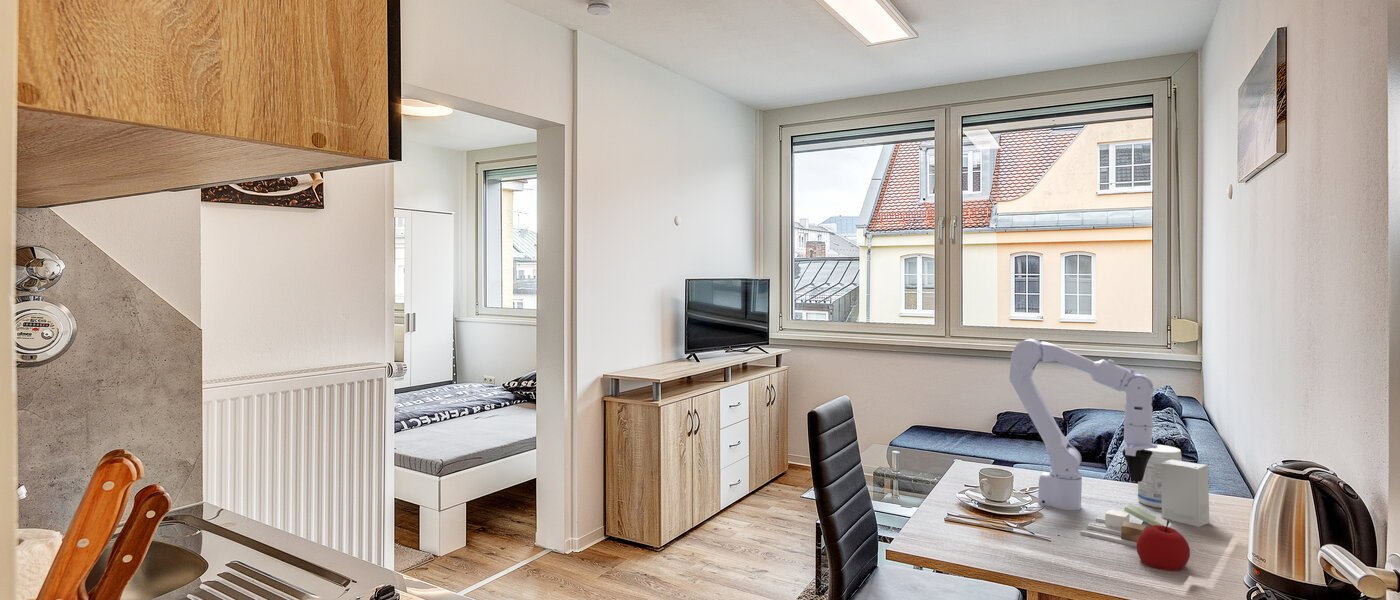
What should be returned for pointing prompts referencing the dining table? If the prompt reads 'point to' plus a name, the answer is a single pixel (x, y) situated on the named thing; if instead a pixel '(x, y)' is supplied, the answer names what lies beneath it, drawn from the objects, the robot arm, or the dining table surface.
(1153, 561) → the apple
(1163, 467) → the skincare box
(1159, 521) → the sage rocker
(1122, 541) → the control board
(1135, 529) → the brown cube
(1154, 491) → the supplement tub
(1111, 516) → the white cube
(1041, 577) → the dining table surface
